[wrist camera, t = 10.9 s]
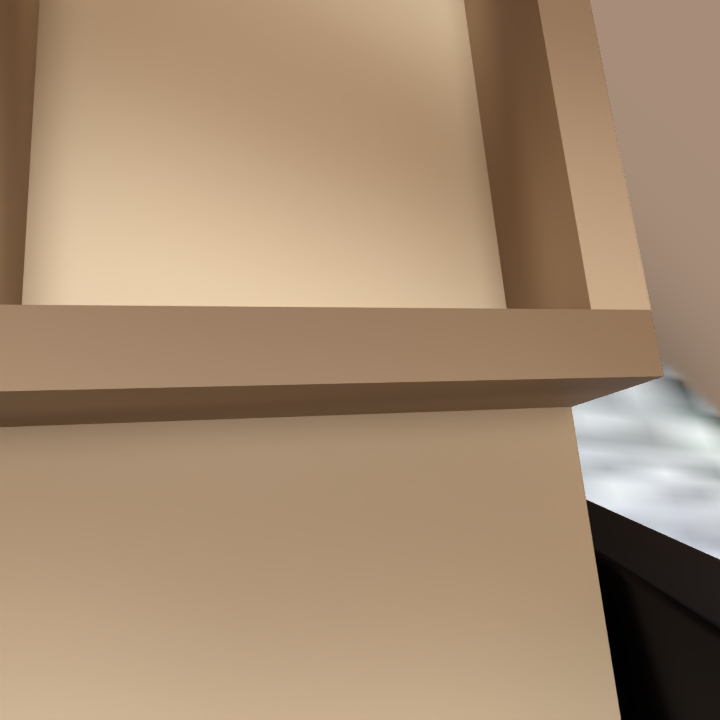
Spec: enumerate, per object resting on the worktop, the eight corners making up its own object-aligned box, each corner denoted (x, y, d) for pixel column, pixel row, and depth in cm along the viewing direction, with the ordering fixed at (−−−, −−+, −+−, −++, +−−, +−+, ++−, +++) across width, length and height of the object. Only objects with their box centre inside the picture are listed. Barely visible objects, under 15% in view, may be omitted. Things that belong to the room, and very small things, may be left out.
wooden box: (358, 695, 13) (824, 1187, 3) (109, 733, 12) (-321, 1682, 2) (330, 283, 16) (559, -153, 6) (117, 279, 14) (-72, -288, 4)
